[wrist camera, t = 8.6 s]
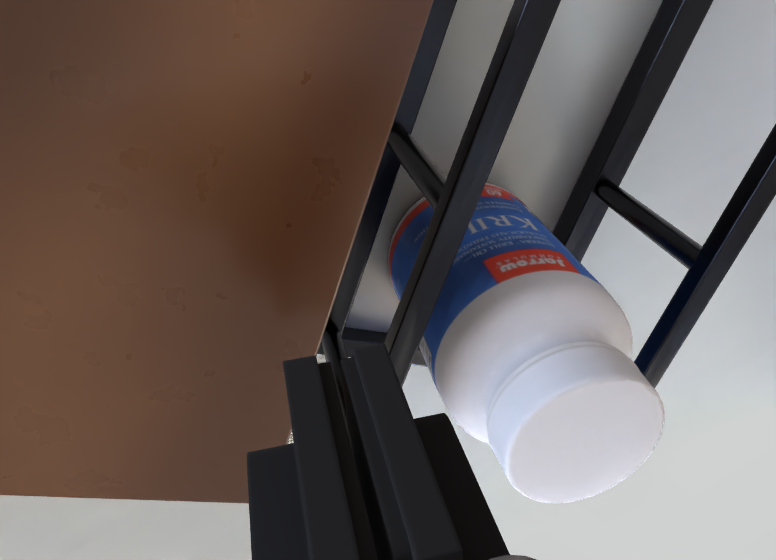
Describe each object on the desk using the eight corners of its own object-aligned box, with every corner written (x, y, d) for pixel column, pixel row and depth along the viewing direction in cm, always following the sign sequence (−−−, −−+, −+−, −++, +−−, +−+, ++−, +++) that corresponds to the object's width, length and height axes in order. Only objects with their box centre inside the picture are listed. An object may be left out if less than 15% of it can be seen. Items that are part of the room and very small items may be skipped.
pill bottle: (498, 147, 21) (677, 304, 13) (547, 265, 24) (718, 453, 16) (355, 229, 22) (443, 432, 14) (420, 335, 25) (525, 555, 17)
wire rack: (725, -70, 20) (938, -53, 14) (510, 366, 27) (592, 495, 21) (470, -191, 16) (609, -235, 11) (303, 339, 23) (334, 481, 18)
